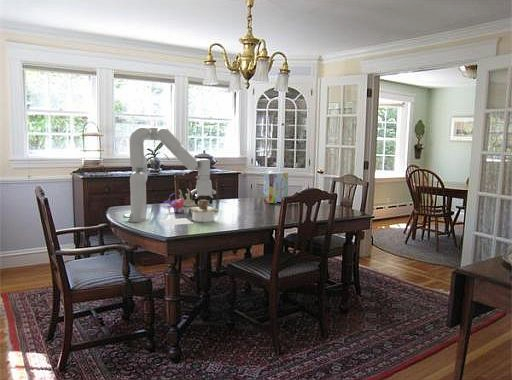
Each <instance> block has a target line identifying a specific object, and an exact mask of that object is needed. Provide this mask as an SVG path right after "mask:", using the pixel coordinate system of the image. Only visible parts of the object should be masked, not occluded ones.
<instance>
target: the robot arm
mask: <svg viewBox="0 0 512 380" xmlns="http://www.w3.org/2000/svg"><path fill="white" fill-rule="evenodd" d="M146 140H147V141H148V140H149V141H158V142H160V143H162V144H163V145H164V146H165V147H166V149H167V150H168V151H169V152H170V153H172V155H173V156H175V158H176V159H177V160H178V161H179V162H180V163H181V164H182V165H183V166H184V167H185V168H187V170H189V171H191V172H192V171H196V170H197V175H196V176H195V179H197V180H196V183H195V189H193V190H191V191H190V195H191V196H192V197H193V199H194V201H195V204H196V205H197V206H199V205H198V201H199V199H198V198H199V197H207V196H209V197H208V203H209V204H210V205H212V204H213V199H214V197H215V196H216V194H217V190H215V189H214V188H213V186H212V185H213V183H212V180H211V179H210V178H211V161H210V159H209V158H194V157H193V156H192V154H190V152H189V151H187V149H186V148H185V146H184V145H183V143H182V142H181V141H180V140H179V139H178V138H177V137H176V136H175V135H174V134H173V133H172V132H171V131H170V130H169V128H166V127H156V126H155V127H154V126H146V125H141V126H139V127H137V128H136V129H134V130H132V133H131V135H130V137H129V163H130V166H131V169H132V170H131V172H132V173H131V175H130V177H129V187H130V212H129V213H128V214H123V215H122V218H123V219H127V220H128V222H131V223H141V222H147V221H148V222H149V220H150V219H149V217H147V186H146V185H147V181H148V161H147V158H146V156H145V149H144V148H145V147H144V142H145V141H146Z"/></svg>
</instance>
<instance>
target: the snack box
mask: <svg viewBox="0 0 512 380" xmlns="http://www.w3.org/2000/svg"><path fill="white" fill-rule="evenodd" d="M288 185H289V173H288V172H286V171H285V172H284V171H281V172H278V171H277V172H265V173H263V190H262V191H263V193H262V194H263V197H262V198H263V199H262V201H263V202H265V203H264V204H267V203H273V204H276V203H275V202H281V197H282V196H288V195H289V193H288V191H289V186H288Z"/></svg>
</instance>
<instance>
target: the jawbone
mask: <svg viewBox="0 0 512 380" xmlns="http://www.w3.org/2000/svg"><path fill="white" fill-rule="evenodd" d="M186 190H187V192H188V193H185V194H184V195H185V196H186V199H185V198H184V195H183V193H182V190H181V189H178V192H179V193H180V194H178V197H179V199H183V200H184V204H183V206H182V207H188V208H189V207H198V206H199V200H198V205H196V204H195V200H193V199H191V197H190V196H191V191H190V189H189V188H188V187H187V188H186ZM182 196H183V198H182Z"/></svg>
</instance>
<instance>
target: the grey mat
mask: <svg viewBox="0 0 512 380" xmlns="http://www.w3.org/2000/svg"><path fill="white" fill-rule="evenodd" d="M159 221H160V222H161V223H162V224H164V225H165V226H174V225H175V226H176V225H177V226H178V225H191V224H193V225H194V224H195V223H194V222H193V221H191V220H189V218H186V217H184V218H183V217H181V218H168V219H167V218H165V219H164V218H163V219H159Z"/></svg>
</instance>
